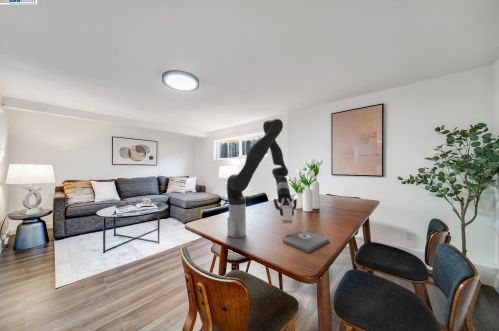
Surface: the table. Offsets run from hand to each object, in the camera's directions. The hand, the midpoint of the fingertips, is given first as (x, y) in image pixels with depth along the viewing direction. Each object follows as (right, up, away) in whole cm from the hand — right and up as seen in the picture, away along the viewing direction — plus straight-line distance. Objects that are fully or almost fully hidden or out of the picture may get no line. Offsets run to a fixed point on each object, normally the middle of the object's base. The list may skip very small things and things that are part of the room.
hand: (287, 215), depth 100 cm
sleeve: (0, -4, +2) cm, 5 cm away
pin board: (+7, -10, -11) cm, 16 cm away
